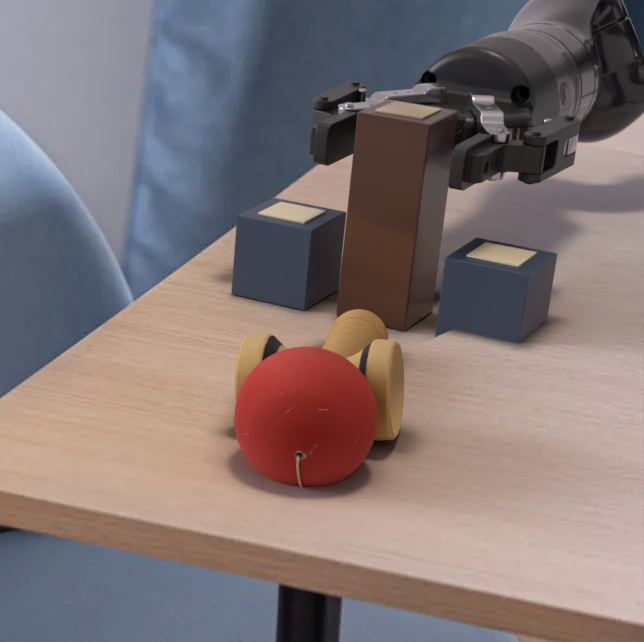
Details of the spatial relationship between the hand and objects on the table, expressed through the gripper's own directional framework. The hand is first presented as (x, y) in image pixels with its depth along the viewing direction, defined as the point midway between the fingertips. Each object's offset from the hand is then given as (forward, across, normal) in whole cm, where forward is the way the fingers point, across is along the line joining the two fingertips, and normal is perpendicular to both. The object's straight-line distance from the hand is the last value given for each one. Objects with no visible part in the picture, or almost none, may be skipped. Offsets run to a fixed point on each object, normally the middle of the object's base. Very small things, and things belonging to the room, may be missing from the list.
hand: (387, 157), depth 90 cm
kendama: (+15, -4, -9) cm, 18 cm away
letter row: (-2, 0, -9) cm, 9 cm away
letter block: (-2, 0, -9) cm, 9 cm away
